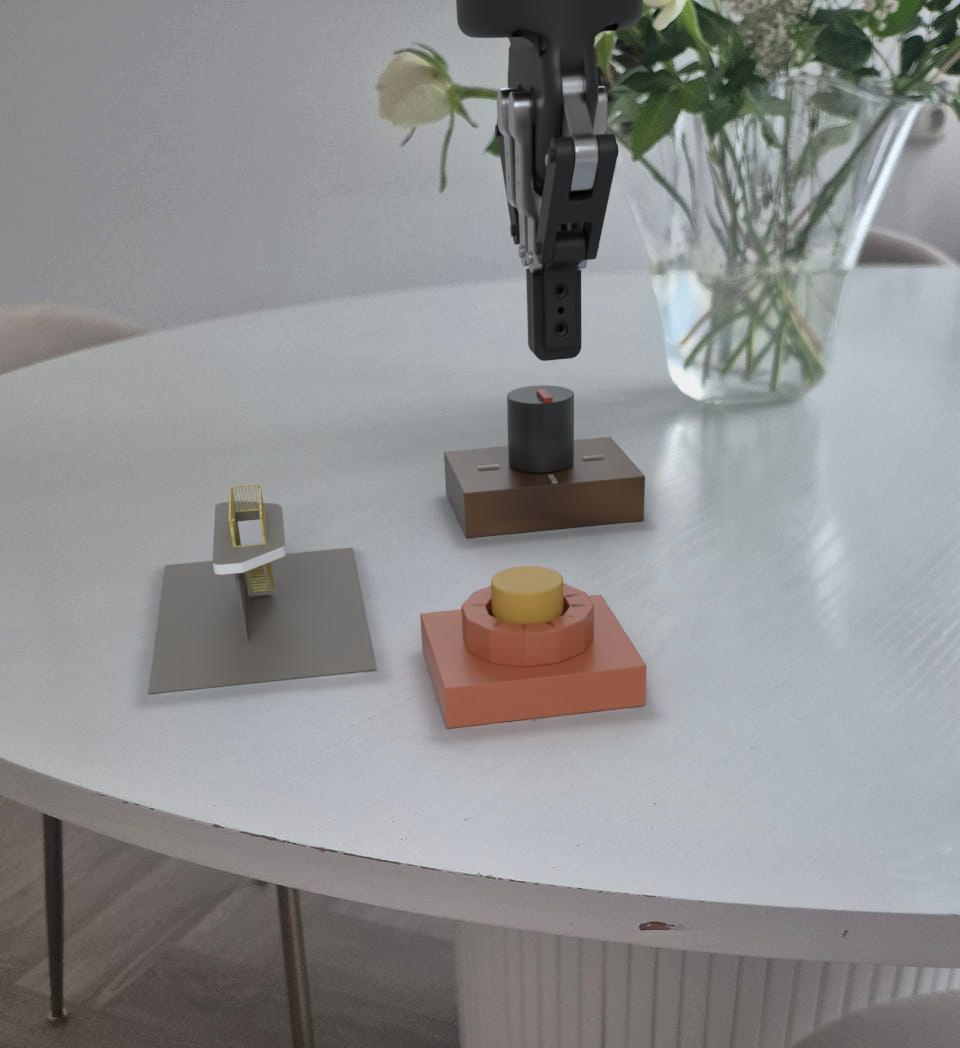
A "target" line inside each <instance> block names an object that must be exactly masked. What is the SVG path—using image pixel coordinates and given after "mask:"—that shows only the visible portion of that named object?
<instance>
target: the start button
mask: <svg viewBox="0 0 960 1048" xmlns="http://www.w3.org/2000/svg"><path fill="white" fill-rule="evenodd" d="M563 583H564V578H563V576H562V574H561V573H559V572H558V571H557V570H555V569H552V568H549V567H544V566H537V565H520V566H514V567H509V568H506V569H503V570H500V571H498V572H497V573H495V574H493V576H492V577H491V580H490V586H491V599H492V614H493V616H494V617H495V618H497V619H499V620H502V621H507V622H516V623H524V624H528V623H538V622H547V621H550V620H552V619H555V618H557V617H560V616H561V614H562V613H563Z"/></svg>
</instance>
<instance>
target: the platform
mask: <svg viewBox="0 0 960 1048" xmlns="http://www.w3.org/2000/svg"><path fill="white" fill-rule="evenodd" d="M243 487H244V488H243ZM250 487H251V490H250ZM253 487H254V489H253ZM240 488H241V489H240ZM228 489H229V490H228V501H226V502H219V503H216V504H215V505H214V523H213V524H214V525H213V542H212V543H213V544H212V560H205V561H195V562H184V563H175V564H174V563H173V564H165V565H164V571H163V580H162V586H161V587H162V588H161V595H160V601H159V602H160V603H159V610H158V618H157V625H156V632H155V641H154V647H153V655H152V662H151V670H150V678H149V685H148V692H147V693H148V695H149V694H156V693H157V694H158V693H169V692H177V691H186V690H197V689H205V688H215V687H225V686H226V687H227V686H233V685H243V684H252V683H253V684H255V683H263V682H273V681H282V680H291V679H301V678H311V677H320V676H321V677H322V676H329V675H331V676H332V675H338V674H349V673H358V672H359V673H360V672H368V671H376V670H377V666H376V660H375V656H374V650H373V646H372V640H371V636H370V630H369V625H368V621H367V615H366V610H365V605H364V601H363V595H362V591H361V585H360V581H359V575H358V570H357V566H356V561H355V555H354V551H353V547H344V548H334V549H323V550H313V551H301V552H291V553H290V552H289V553H287V547H286V545H287V544H286V534H285V521H284V520H285V519H284V511H283V506H281V505H280V504H278V503H273V502H264V499H263V491H262V485H261V483H251V484H240V485H229V486H228ZM237 489H238V492H237ZM234 490H235V493H234ZM247 490H248V493H247ZM257 490H258V491H257ZM244 491H245V494H244ZM250 491H251V492H250ZM257 492H258V495H257ZM241 493H242V496H241ZM254 493H255V496H254ZM238 495H239V496H238ZM251 495H252V498H251ZM235 497H236V499H235ZM238 497H239V498H238ZM245 497H246V499H245ZM248 497H249V499H248ZM235 500H236V501H235ZM245 500H246V501H245ZM258 520H259V521H260V528H261V529H260V530H261V536H262V543H254V544H253V543H252V544H242V542H241V535H240V528H239V527H240V526H239V522H248V521H258Z"/></svg>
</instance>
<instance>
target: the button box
mask: <svg viewBox="0 0 960 1048" xmlns="http://www.w3.org/2000/svg"><path fill="white" fill-rule="evenodd" d="M606 601H607V600H605V598H604V596H603V595H602V594H593V595H588V593H587V592H585V591H583V590H581V589H578V588H576V587H574V586H571V585H569V584H566V583H564V582H563V613H562V614H561V616H560V617H557V618H555V619H552V620H550V621H547V622H538V623H528V624H524V623H516V622H507V621H502V620H499V619H497V618H495V617H494V616H493V614H492V599H491V585H489V586H487V587H484V588H482V589H479V590H476V591H473V592H472V593H471V594H470V596H468V598H467V599H466V600H465V601H464V602H463V603H462V604H461V608H460V609H450V610H440V611H432V612H422V613H420V614H419V618H420V632H421V646H422V653H423V656H424V658H425V661H426V665H427V669H428V672H429V676H430V678H431V682H432V685H433V688H434V691H435V695H436V698H437V701H438V705H439V709H440V710H441V715H442V718H443V721H444V724H445V727H446V729H454V728H462V727H472V726H479V725H489V724H496V723H505V722H515V721H522V720H533V719H540V718H547V717H549V718H550V717H557V716H565V715H574V714H582V713H592V712H601V711H607V710H616V709H625V708H626V709H627V708H634V707H635V708H636V707H642V706H643V707H644V706H646V692H647V691H646V689H647V668H648V667H647V664H646V663H645V661H644V659H643V658H642V657H641V655H640V653H639V651H638V650H637V649H636V647H635V645H634V644H633V643H632V641H631V639H630V638H629V636H628V634H627V633H626V632H625V629H624V628H623V626H622V625H621V623H620V621H619V620H618V619H617V617H616V615H615V614H614V612H613V611H612V609H611V607H610V606H609V604H608V603H607V602H606Z"/></svg>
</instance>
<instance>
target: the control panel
mask: <svg viewBox="0 0 960 1048" xmlns="http://www.w3.org/2000/svg"><path fill="white" fill-rule="evenodd" d="M443 461H444V463H443V464H444V478H445V479H444V481H445V494H446V496H447V498H448V500H449V503H450V505H451V507H452V510H453V512H454V514H455V516H456V518H457V520H458V524H459V525H460V527H461V530H462V531H463V534H464V536H465V538H467V539H469V538H478V537H489V536H498V535H508V534H519V533H530V532H538V531H548V530H549V531H550V530H559V529H560V530H561V529H569V528H570V529H571V528H579V527H590V526H600V525H610V524H621V523H630V522H639V521H644V520H645V497H646V496H645V494H646V493H645V492H646V489H645V488H646V475H645V474H644V473H643V472H642V471H641V469H639V467H637V465H636V464H635V463H634V462H633V461H632V460H631V458H630V457H629V456H628V455H627V454H626V452H624V450H623V449H622V448H621V447H620V446H619V445H618V443H617V442H616V441H615V440H614V439H613V437H611V436H604V437H602V436H601V437H593V438H581V439H574V462H573V464H572V465H571V466H570V467H568V468H566V469H563V470H559V471H555V472H547V473H531V472H523V471H519V470H516V469H513V468H512V467H510V465H509V460H508V445H505V446H504V445H503V446H494V447H493V446H492V447H483V448H471V449H460V450H449V451H444V452H443Z"/></svg>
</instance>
